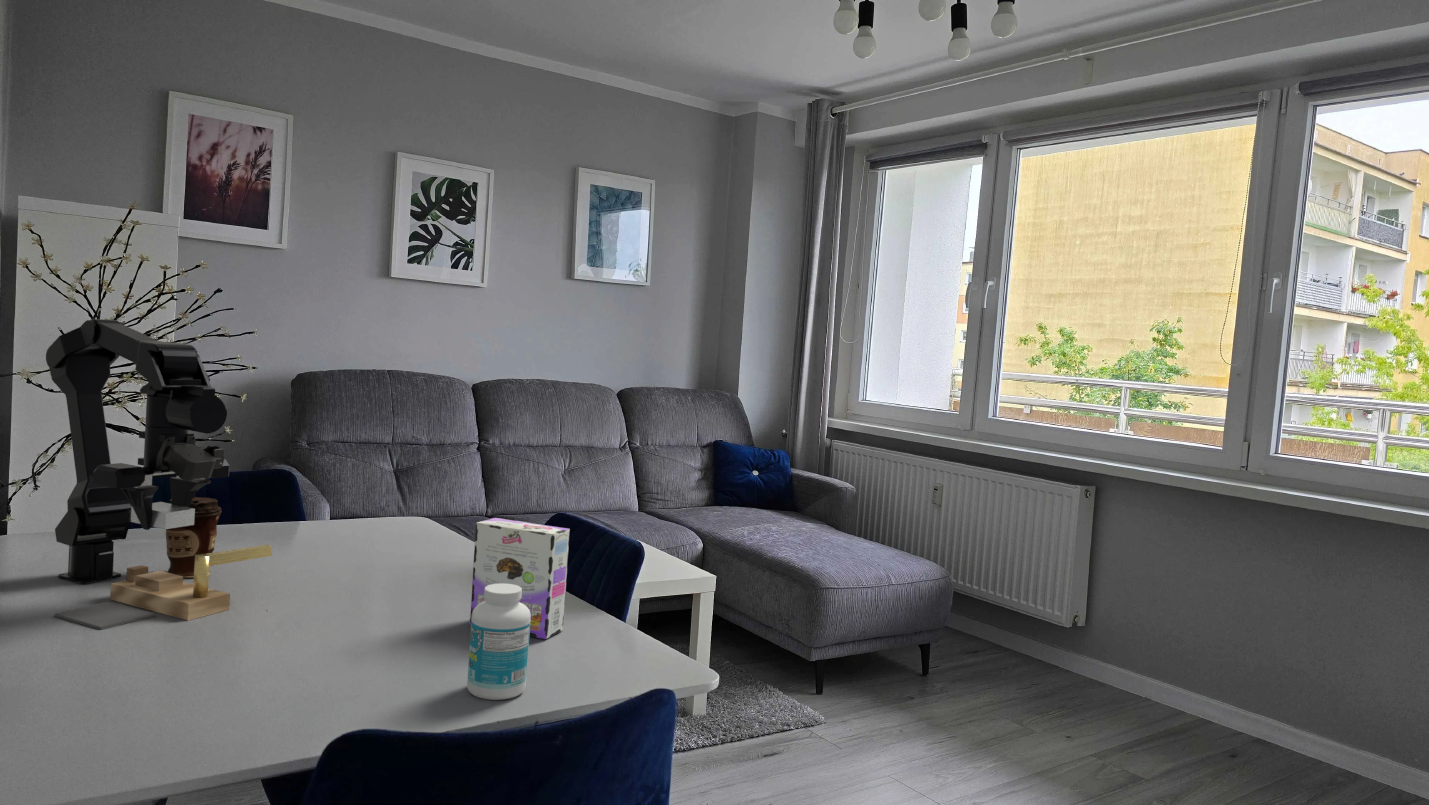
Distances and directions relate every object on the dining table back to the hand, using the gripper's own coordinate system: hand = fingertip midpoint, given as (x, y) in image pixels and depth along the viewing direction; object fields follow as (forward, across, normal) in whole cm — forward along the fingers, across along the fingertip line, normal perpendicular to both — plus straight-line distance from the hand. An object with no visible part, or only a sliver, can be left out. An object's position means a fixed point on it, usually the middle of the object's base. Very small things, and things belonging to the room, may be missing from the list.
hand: (162, 526), depth 145 cm
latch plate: (+12, 0, -2) cm, 12 cm away
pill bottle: (+12, 0, -63) cm, 64 cm away
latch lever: (+9, +5, -10) cm, 14 cm away
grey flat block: (-1, 0, 0) cm, 1 cm away
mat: (+12, -9, -1) cm, 15 cm away
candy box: (+12, +23, -50) cm, 56 cm away
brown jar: (+12, +13, +10) cm, 20 cm away
